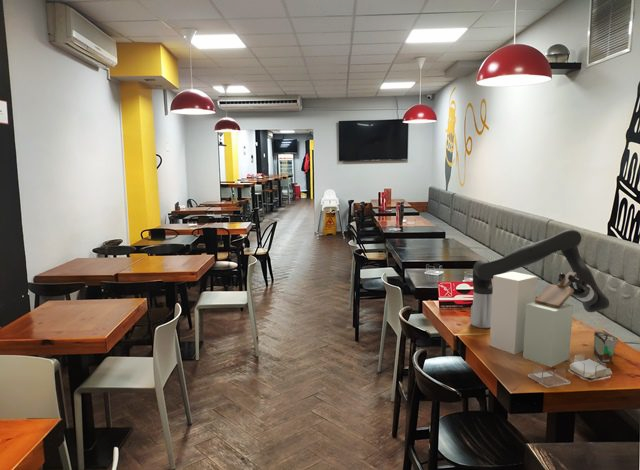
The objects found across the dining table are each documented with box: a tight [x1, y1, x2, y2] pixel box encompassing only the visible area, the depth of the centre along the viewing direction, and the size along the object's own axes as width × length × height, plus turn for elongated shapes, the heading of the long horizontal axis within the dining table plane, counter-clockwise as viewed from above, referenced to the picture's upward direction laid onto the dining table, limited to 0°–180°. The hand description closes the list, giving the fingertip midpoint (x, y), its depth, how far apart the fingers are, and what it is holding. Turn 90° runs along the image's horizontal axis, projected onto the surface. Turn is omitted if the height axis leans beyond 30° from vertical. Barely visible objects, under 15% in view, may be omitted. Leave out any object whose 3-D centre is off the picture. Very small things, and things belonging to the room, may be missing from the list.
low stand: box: [522, 302, 574, 368], centre depth 192 cm, size 12×14×23 cm
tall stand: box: [489, 271, 538, 355], centre depth 204 cm, size 12×14×32 cm
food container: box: [593, 330, 618, 365], centre depth 192 cm, size 12×6×10 cm, turn 168°
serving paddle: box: [535, 271, 577, 308], centre depth 194 cm, size 10×22×2 cm, turn 125°
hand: (565, 275), depth 195 cm, fingers closed on serving paddle, 3 cm apart
